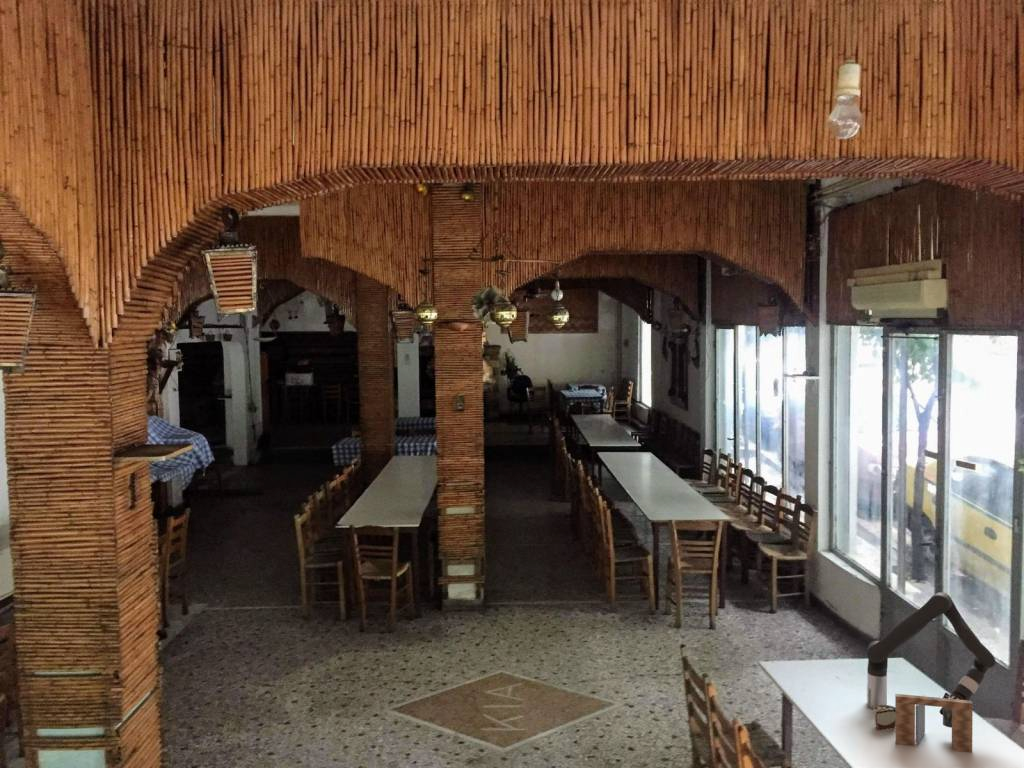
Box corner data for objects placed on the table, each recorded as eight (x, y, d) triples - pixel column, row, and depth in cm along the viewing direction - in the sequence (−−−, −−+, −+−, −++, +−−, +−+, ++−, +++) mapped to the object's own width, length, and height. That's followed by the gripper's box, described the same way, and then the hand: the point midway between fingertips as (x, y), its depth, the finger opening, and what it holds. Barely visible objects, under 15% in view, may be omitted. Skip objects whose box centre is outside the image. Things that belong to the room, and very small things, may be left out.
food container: (889, 722, 419) (889, 702, 419) (897, 728, 413) (897, 708, 413) (867, 725, 417) (867, 705, 416) (875, 731, 411) (875, 711, 410)
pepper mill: (943, 726, 400) (943, 704, 399) (941, 721, 405) (941, 699, 404) (957, 728, 398) (957, 705, 397) (954, 722, 403) (954, 700, 403)
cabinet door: (918, 743, 397) (918, 706, 395) (912, 742, 398) (912, 704, 397) (924, 732, 408) (925, 695, 407) (919, 730, 409) (919, 694, 408)
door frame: (896, 744, 398) (896, 696, 396) (895, 741, 401) (895, 693, 399) (972, 752, 388) (972, 703, 387) (970, 749, 391) (971, 700, 390)
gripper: (949, 677, 409) (930, 706, 407) (974, 689, 396) (954, 718, 393) (958, 686, 411) (938, 714, 408) (983, 698, 398) (963, 727, 395)
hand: (946, 716), depth 401 cm, fingers closed on pepper mill, 5 cm apart
